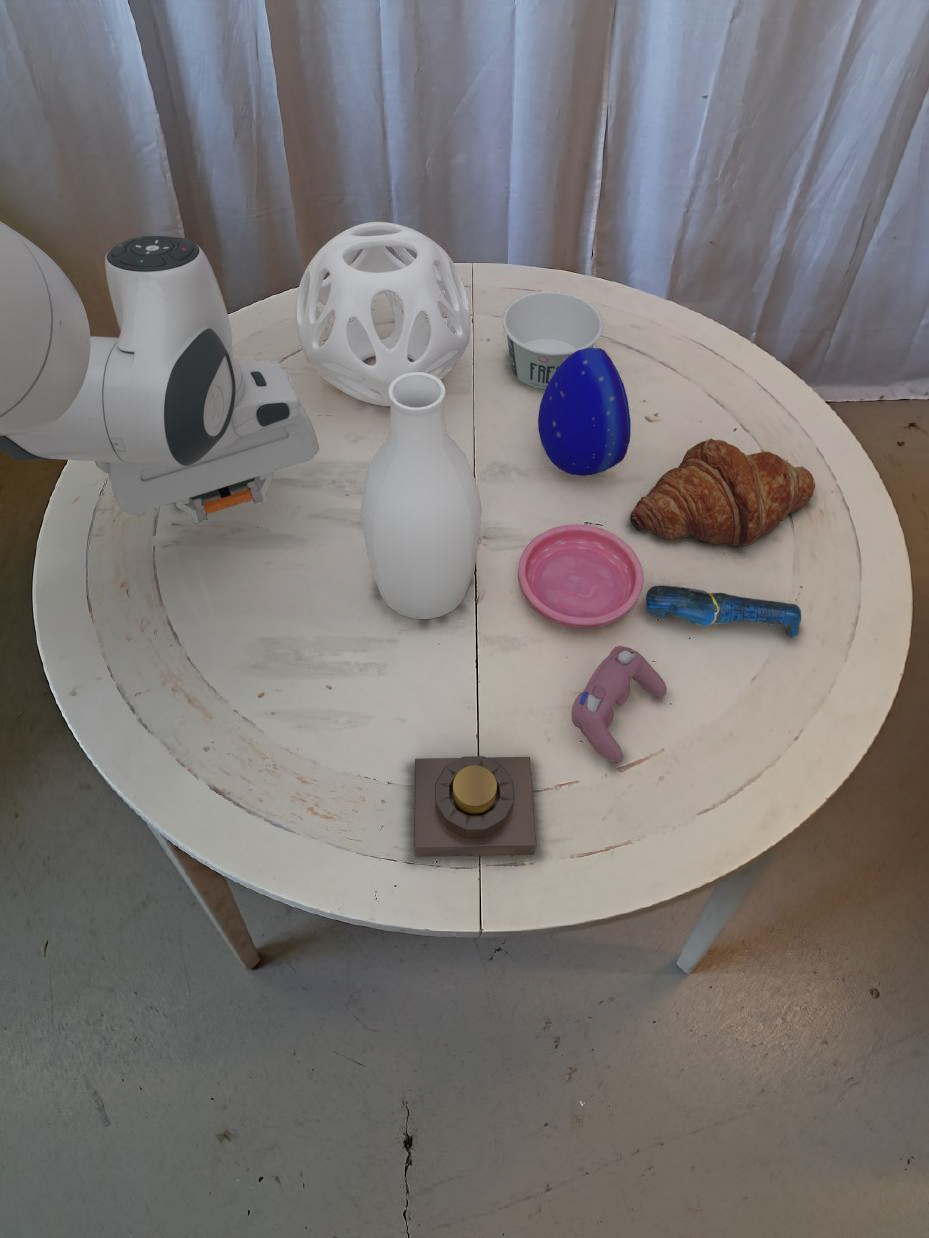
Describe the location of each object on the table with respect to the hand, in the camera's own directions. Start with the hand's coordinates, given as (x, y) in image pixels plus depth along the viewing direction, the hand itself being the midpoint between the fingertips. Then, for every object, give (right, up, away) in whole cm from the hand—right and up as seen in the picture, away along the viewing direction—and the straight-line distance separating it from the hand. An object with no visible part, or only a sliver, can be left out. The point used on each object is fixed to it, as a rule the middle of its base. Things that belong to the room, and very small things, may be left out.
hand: (230, 508), depth 92 cm
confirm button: (+25, -26, -19) cm, 41 cm away
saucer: (+36, -9, -2) cm, 37 cm away
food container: (+35, +20, +18) cm, 44 cm away
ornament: (+37, +6, +8) cm, 39 cm away
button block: (+25, -28, -16) cm, 41 cm away
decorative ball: (+15, +18, +16) cm, 28 cm away
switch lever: (-2, +6, +1) cm, 6 cm away
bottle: (+20, -8, -2) cm, 22 cm away
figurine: (+50, -12, -4) cm, 51 cm away
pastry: (+53, 0, +5) cm, 53 cm away
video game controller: (+38, -21, -10) cm, 45 cm away
